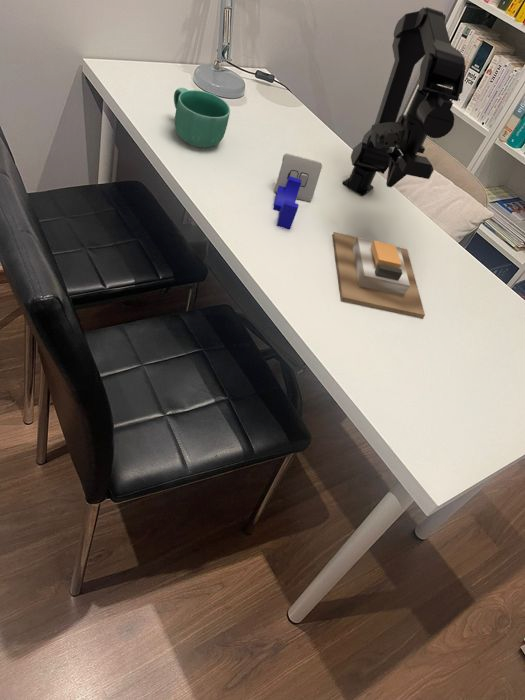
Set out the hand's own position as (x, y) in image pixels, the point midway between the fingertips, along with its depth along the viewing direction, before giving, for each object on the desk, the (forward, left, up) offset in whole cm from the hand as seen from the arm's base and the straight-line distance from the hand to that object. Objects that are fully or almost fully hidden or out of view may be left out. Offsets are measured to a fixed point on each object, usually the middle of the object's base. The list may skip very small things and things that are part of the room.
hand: (388, 186), depth 126 cm
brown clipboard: (+13, +9, -12) cm, 20 cm away
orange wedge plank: (+13, +9, -8) cm, 18 cm away
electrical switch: (+3, -20, -13) cm, 24 cm away
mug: (+5, -49, -13) cm, 51 cm away
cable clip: (+12, -17, -13) cm, 24 cm away
